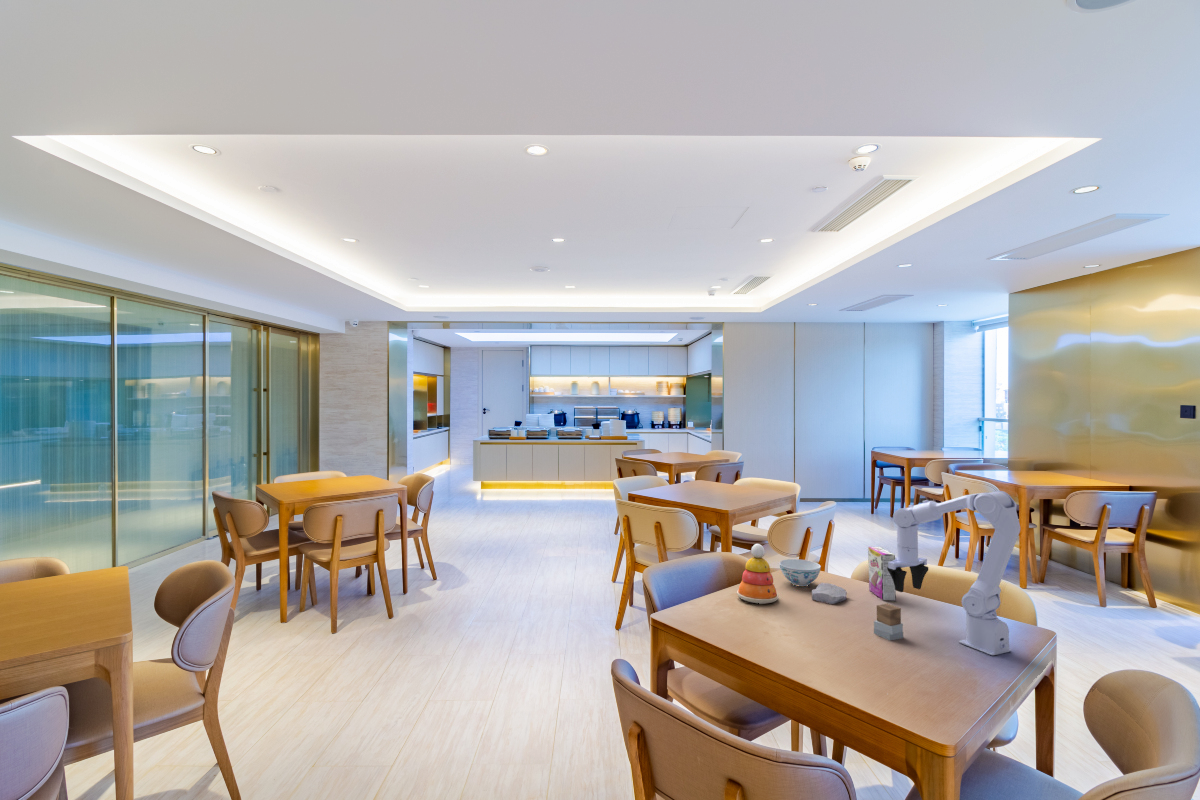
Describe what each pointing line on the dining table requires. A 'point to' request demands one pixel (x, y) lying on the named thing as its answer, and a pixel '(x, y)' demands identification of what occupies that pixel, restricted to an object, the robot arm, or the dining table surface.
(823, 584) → the stone block
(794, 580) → the chinaware
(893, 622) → the walnut cube
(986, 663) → the dining table surface
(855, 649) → the dining table surface
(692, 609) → the dining table surface
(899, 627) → the tower top
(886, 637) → the tower base
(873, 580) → the candy bar box
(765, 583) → the stacking toy
